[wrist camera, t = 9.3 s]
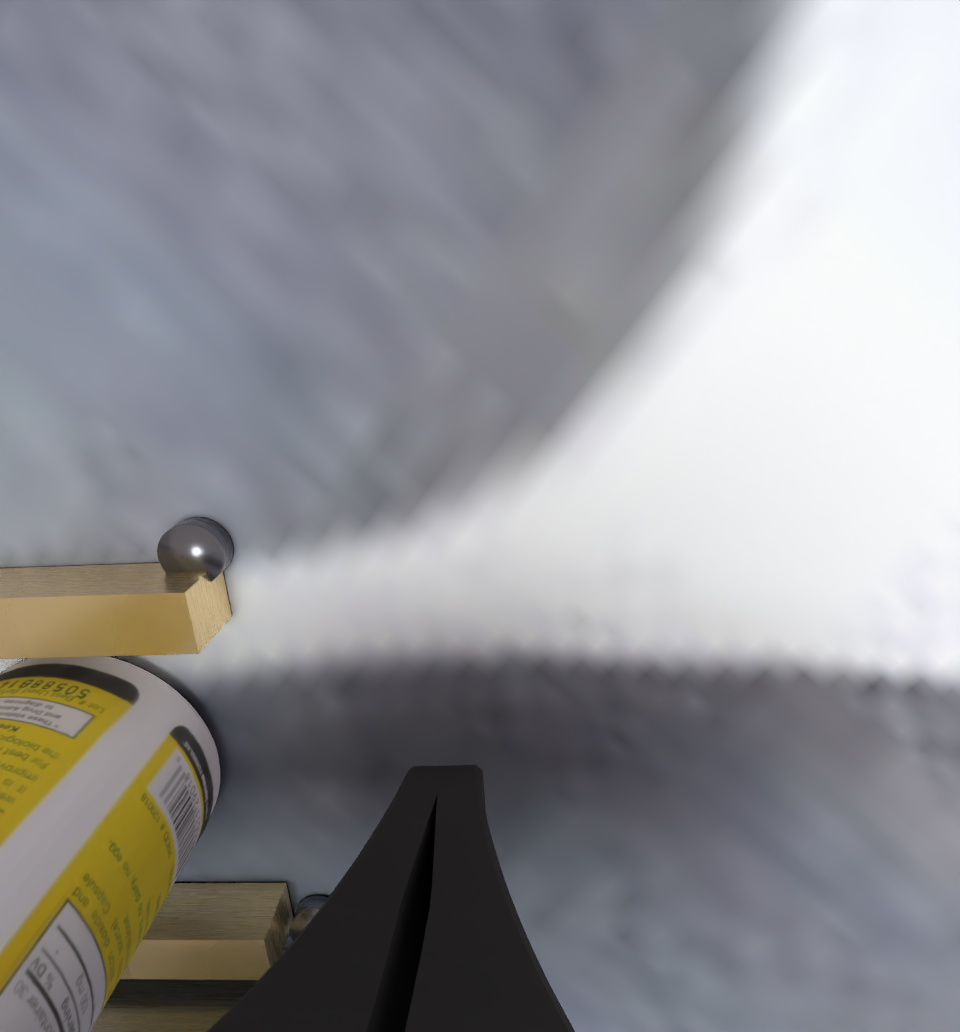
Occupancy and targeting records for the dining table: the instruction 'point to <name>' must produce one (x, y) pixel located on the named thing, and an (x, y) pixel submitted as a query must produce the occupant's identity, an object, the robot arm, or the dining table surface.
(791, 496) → the dining table surface
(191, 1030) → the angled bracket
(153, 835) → the supplement bottle
